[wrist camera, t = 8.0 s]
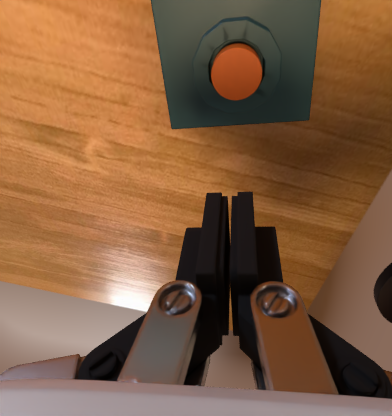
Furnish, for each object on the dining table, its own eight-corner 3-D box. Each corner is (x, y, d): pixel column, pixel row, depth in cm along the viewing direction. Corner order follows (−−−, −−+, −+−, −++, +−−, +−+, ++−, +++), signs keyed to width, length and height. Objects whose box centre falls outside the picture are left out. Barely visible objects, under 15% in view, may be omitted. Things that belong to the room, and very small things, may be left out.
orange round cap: (261, 40, 23) (262, 44, 22) (260, 91, 25) (262, 98, 24) (210, 45, 24) (209, 50, 22) (214, 95, 26) (213, 102, 24)
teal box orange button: (314, -24, 24) (330, -23, 20) (303, 107, 30) (313, 129, 26) (158, -5, 26) (144, 0, 22) (176, 116, 32) (168, 138, 28)
